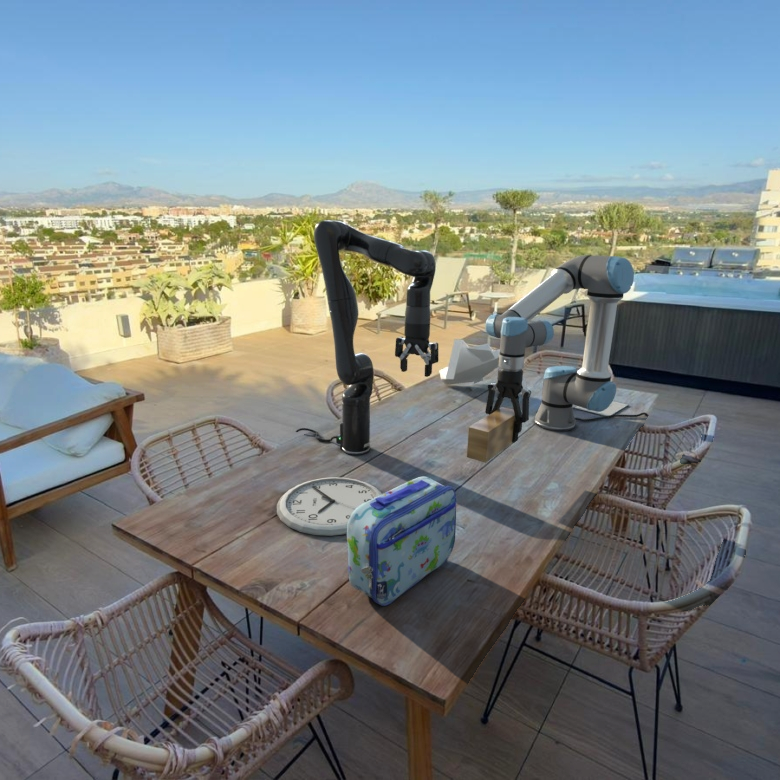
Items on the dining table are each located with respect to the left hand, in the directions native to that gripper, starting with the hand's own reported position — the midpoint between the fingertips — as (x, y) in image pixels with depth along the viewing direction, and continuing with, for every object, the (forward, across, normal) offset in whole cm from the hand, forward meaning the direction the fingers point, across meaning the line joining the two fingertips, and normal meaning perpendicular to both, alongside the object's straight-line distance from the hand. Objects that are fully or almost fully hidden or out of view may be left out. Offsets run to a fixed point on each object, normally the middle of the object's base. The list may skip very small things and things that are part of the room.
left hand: (415, 373), depth 159 cm
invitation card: (+30, +31, +99) cm, 108 cm away
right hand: (+21, +23, +18) cm, 36 cm away
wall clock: (+30, -3, -35) cm, 46 cm away
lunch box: (+30, +30, -48) cm, 65 cm away
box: (+22, +23, +10) cm, 33 cm away
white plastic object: (+30, -20, +83) cm, 91 cm away
